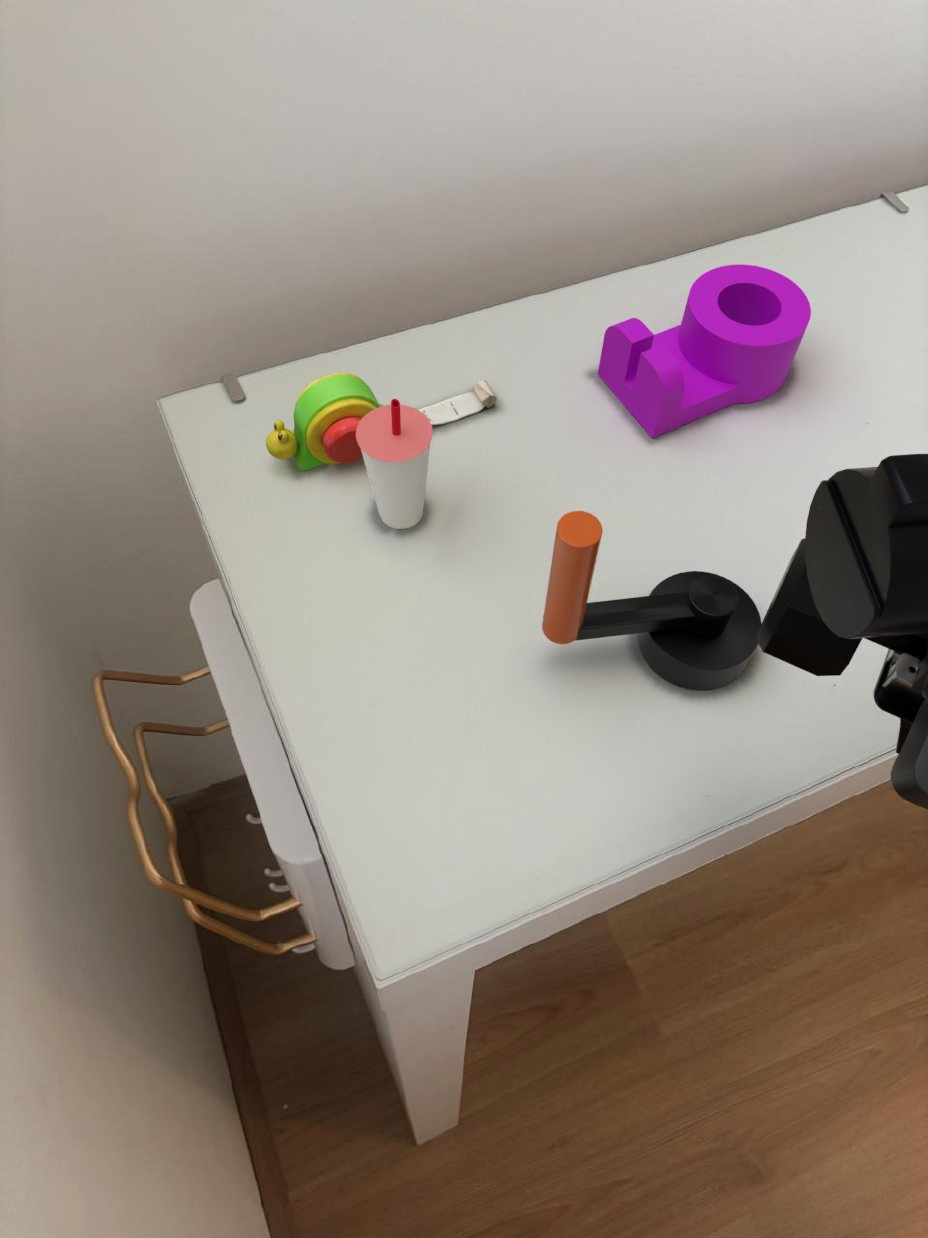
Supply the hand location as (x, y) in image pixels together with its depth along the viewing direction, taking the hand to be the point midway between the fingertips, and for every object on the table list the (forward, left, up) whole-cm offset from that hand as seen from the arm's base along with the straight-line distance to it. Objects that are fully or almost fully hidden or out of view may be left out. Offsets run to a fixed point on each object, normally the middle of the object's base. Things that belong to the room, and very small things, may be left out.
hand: (905, 748), depth 47 cm
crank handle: (+14, -10, -10) cm, 20 cm away
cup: (+33, -18, -13) cm, 40 cm away
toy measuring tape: (+37, -26, -13) cm, 47 cm away
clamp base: (+9, -12, -13) cm, 20 cm away
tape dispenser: (+12, -39, -13) cm, 43 cm away
